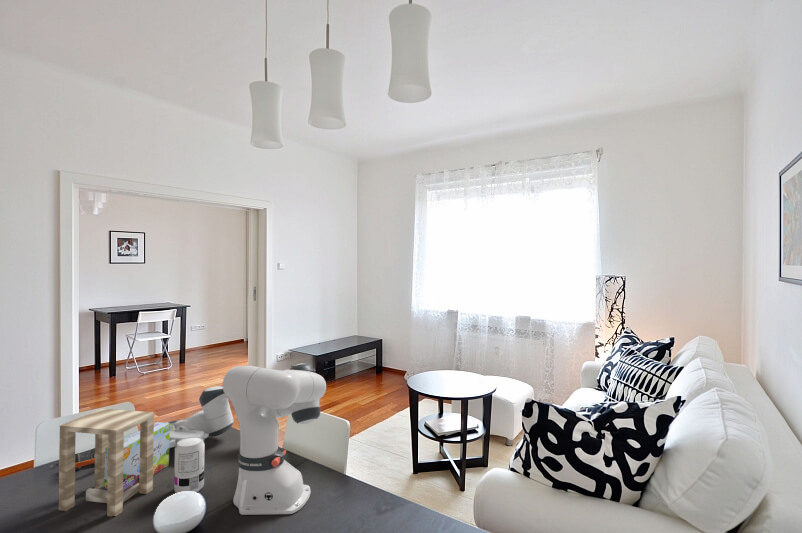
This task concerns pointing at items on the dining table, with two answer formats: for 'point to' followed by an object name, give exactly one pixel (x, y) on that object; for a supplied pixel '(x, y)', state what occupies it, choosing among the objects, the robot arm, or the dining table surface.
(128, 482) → the snack box
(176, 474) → the supplement can
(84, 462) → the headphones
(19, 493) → the dining table surface
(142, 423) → the footstool
